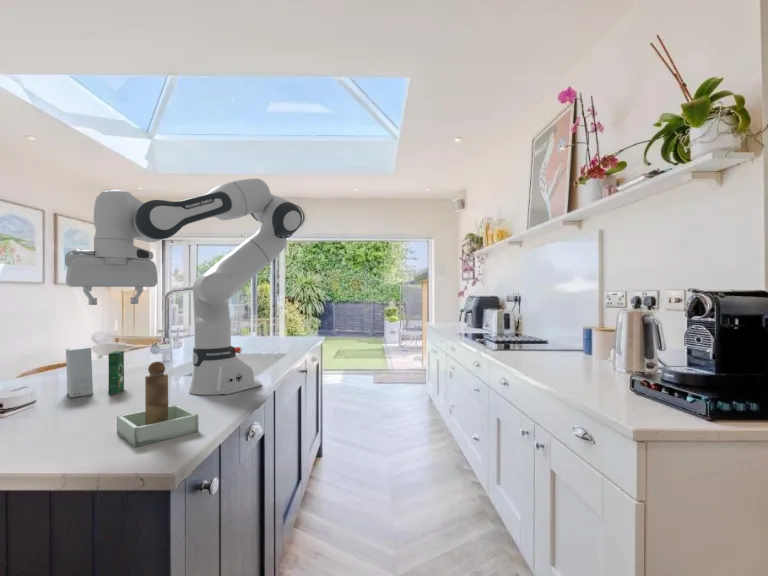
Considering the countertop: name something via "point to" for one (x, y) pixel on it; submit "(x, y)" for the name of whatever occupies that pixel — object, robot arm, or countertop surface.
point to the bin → (156, 426)
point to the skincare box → (79, 371)
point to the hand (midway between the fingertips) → (114, 304)
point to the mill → (156, 394)
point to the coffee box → (116, 372)
